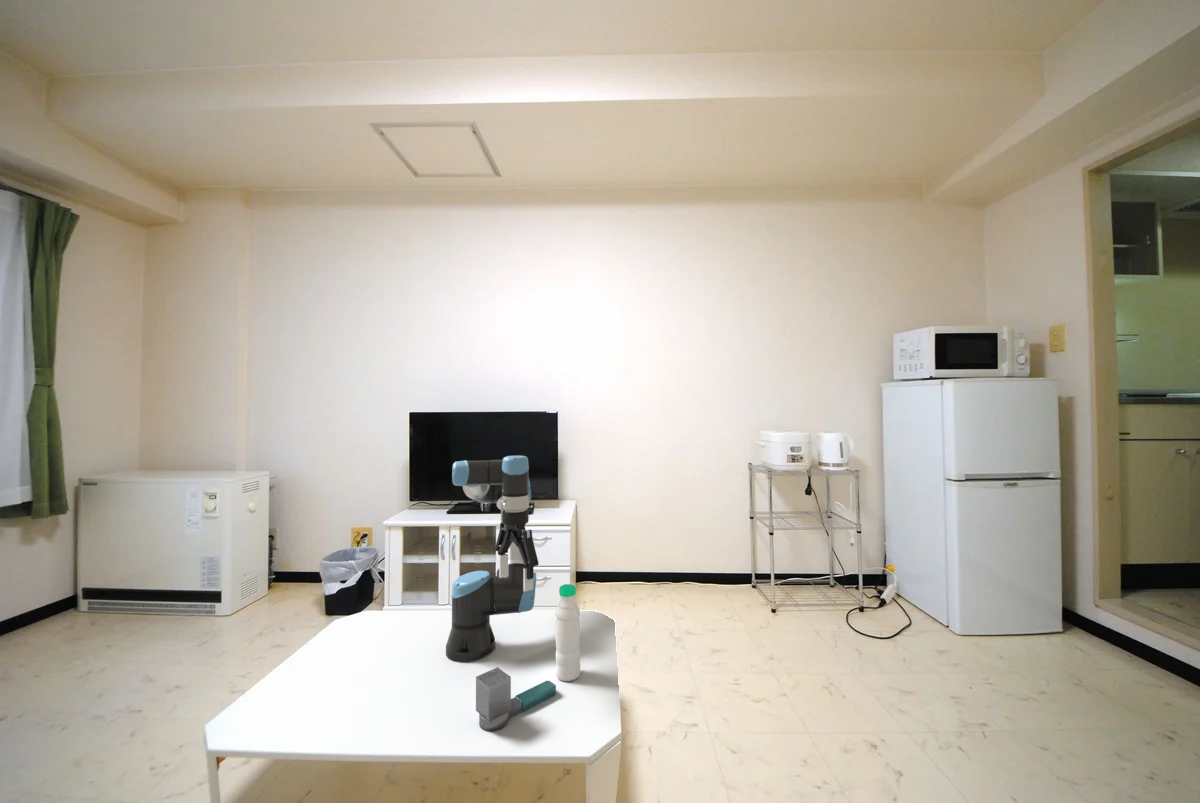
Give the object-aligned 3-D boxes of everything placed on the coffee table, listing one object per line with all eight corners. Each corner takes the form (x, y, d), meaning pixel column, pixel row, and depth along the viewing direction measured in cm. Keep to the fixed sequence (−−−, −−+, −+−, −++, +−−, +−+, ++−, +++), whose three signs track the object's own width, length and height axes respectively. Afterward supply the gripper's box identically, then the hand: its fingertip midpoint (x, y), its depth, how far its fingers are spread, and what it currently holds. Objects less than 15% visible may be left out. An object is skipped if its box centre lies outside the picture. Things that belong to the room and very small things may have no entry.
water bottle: (577, 683, 125) (576, 591, 126) (552, 681, 126) (551, 589, 128) (583, 669, 132) (582, 582, 133) (559, 667, 133) (559, 581, 134)
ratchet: (488, 736, 105) (488, 709, 105) (474, 721, 110) (474, 696, 110) (560, 697, 119) (560, 674, 119) (544, 686, 124) (544, 663, 124)
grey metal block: (475, 710, 110) (476, 676, 110) (497, 699, 114) (497, 667, 114) (488, 722, 106) (488, 686, 106) (510, 710, 110) (510, 676, 110)
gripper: (483, 504, 139) (483, 574, 138) (527, 519, 120) (527, 600, 120) (505, 501, 144) (505, 568, 143) (551, 514, 125) (551, 592, 125)
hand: (515, 583), depth 132 cm, fingers open, 13 cm apart
